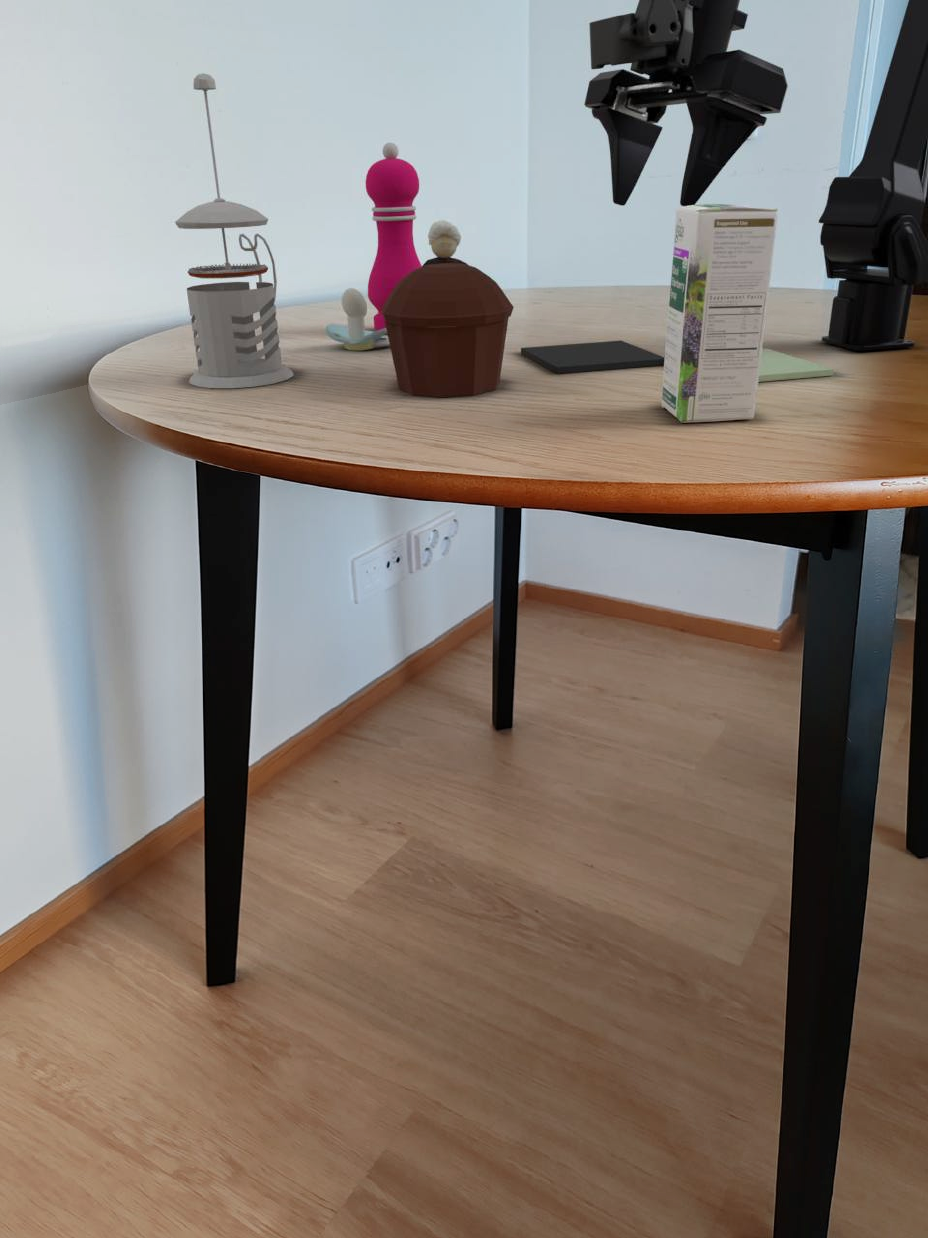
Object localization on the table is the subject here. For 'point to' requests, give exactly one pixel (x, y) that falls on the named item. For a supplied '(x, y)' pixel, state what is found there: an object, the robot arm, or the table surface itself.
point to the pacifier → (356, 325)
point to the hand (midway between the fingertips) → (650, 205)
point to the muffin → (447, 330)
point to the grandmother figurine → (443, 242)
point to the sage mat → (788, 367)
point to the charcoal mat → (592, 356)
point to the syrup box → (717, 311)
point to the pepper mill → (391, 225)
